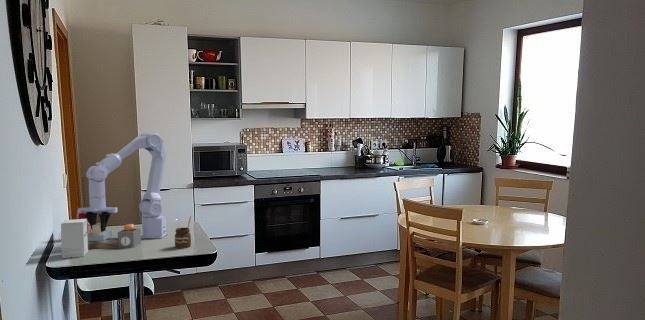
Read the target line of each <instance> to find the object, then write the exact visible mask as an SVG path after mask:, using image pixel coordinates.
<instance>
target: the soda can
mask: <svg viewBox="0 0 645 320" xmlns="http://www.w3.org/2000/svg"><path fill="white" fill-rule="evenodd" d="M85 215H86V213H78V209H77V212H76V219H87V218H86V217H85ZM87 232H88V234H89V233H92V229H91V226H90V224H89V222H88V220H87Z"/></svg>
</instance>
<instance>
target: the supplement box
mask: <svg viewBox="0 0 645 320" xmlns="http://www.w3.org/2000/svg"><path fill="white" fill-rule="evenodd" d="M60 234H61V237H60V238H61V258H62V259H68V258H69V259H70V258H71V257H72V258H81V257H82V258H84V257H85V256H86V255H87V253H88V252H89V248H88V236H87V219H77V218H75V219H65V220H64V221H63V222H61V223H60Z"/></svg>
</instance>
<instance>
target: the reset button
mask: <svg viewBox="0 0 645 320" xmlns="http://www.w3.org/2000/svg"><path fill="white" fill-rule="evenodd" d="M134 228H135V224H134V223H127V224H124V225H123V229H124V231H134Z"/></svg>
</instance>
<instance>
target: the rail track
mask: <svg viewBox="0 0 645 320" xmlns="http://www.w3.org/2000/svg"><path fill="white" fill-rule="evenodd" d="M87 234H88V232H87ZM88 249H118V237H110V238H108V239H106V240H104V241H88Z"/></svg>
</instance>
